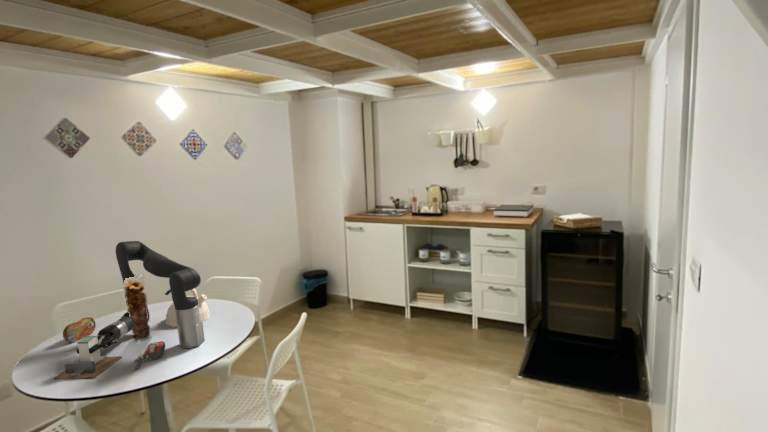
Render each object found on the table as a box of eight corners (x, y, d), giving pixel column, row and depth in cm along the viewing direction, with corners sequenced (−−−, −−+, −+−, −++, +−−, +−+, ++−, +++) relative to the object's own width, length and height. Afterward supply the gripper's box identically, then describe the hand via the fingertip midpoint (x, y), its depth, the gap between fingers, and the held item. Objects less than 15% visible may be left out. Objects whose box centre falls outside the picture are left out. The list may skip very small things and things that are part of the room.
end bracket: (96, 370, 164) (94, 361, 164) (93, 372, 163) (91, 363, 162) (69, 371, 165) (67, 361, 164) (66, 373, 163) (64, 363, 163)
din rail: (105, 357, 175) (105, 356, 175) (80, 375, 161) (79, 373, 161) (97, 358, 175) (97, 356, 175) (71, 376, 161) (71, 374, 161)
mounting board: (122, 357, 176) (121, 356, 175) (94, 378, 160) (94, 376, 160) (84, 358, 176) (84, 357, 176) (53, 379, 160) (53, 377, 160)
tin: (68, 345, 190) (65, 327, 189) (63, 345, 191) (59, 327, 190) (97, 331, 205) (94, 314, 203) (91, 330, 205) (89, 314, 204)
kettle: (200, 326, 204) (195, 290, 202) (157, 328, 205) (152, 292, 202) (216, 310, 224) (213, 277, 222) (178, 312, 225) (174, 279, 222)
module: (100, 359, 172) (97, 335, 170) (92, 365, 167) (87, 341, 165) (90, 359, 172) (86, 336, 170) (81, 365, 167) (77, 341, 165)
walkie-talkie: (144, 350, 182) (133, 372, 164) (142, 340, 182) (131, 361, 163) (166, 346, 185) (158, 367, 166) (165, 336, 184) (157, 357, 166)
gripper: (95, 324, 182) (64, 343, 165) (127, 323, 181) (99, 342, 165) (98, 341, 183) (67, 360, 166) (130, 340, 183) (102, 360, 166)
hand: (83, 351), depth 166 cm, fingers closed on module, 4 cm apart
